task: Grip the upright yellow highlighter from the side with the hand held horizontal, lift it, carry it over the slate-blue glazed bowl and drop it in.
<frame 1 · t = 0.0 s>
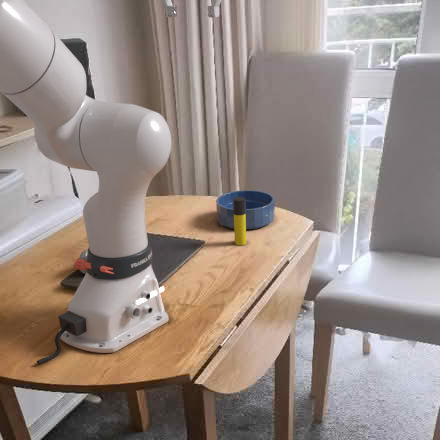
hand: (192, 17, 111), 48 cm above the table, tool pointing down, fingers open, 8 cm apart
highlighter: (240, 243, 145), on the table
bowl: (245, 220, 157), on the table
reed diffuser: (101, 259, 141), on the table
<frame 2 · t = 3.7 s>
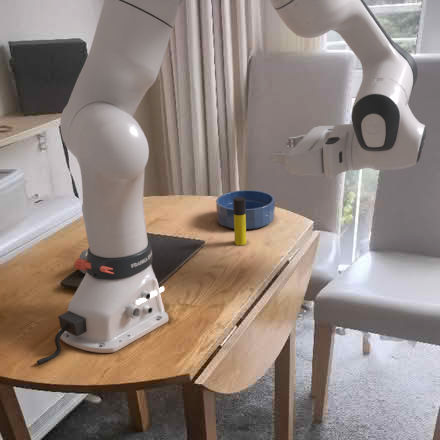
hand: (279, 149, 127), 23 cm above the table, tool horizontal, fingers open, 8 cm apart
nothing on the table moved.
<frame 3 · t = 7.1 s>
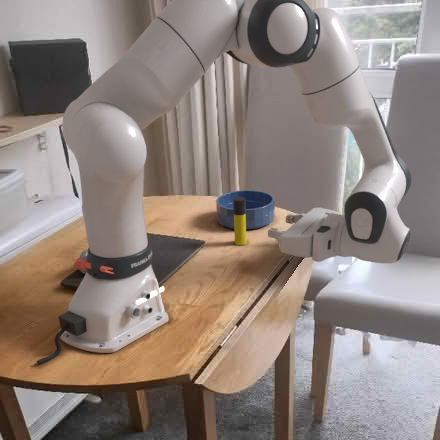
hand: (278, 225, 137), 6 cm above the table, tool horizontal, fingers open, 8 cm apart
nothing on the table moved.
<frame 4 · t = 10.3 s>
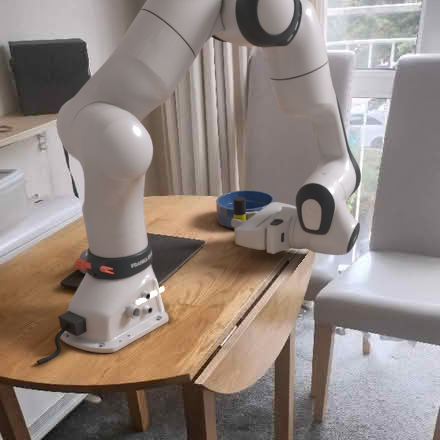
hand: (236, 218, 141), 6 cm above the table, tool horizontal, fingers closed on highlighter, 3 cm apart
highlighter: (240, 243, 145), on the table, touching gripper
everything else where it was.
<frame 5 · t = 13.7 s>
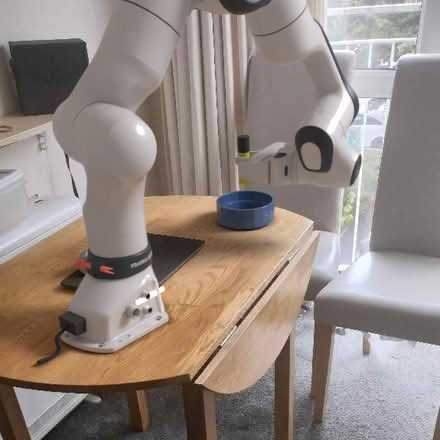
hand: (240, 157, 143), 17 cm above the table, tool horizontal, fingers closed on highlighter, 3 cm apart
highlighter: (244, 182, 147), point 11 cm above the table, touching gripper
everything else where it was.
when the fingers open (8 cm above the table, at t = 17.3 s): highlighter stays where it is, resting on bowl.
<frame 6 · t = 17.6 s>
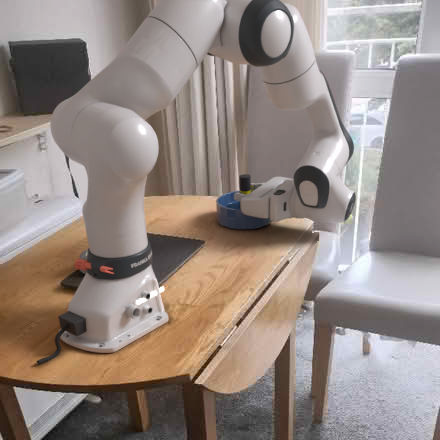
hand: (242, 191, 153), 8 cm above the table, tool horizontal, fingers open, 6 cm apart
highlighter: (245, 218, 156), point 1 cm above the table, touching bowl
everything else where it was.
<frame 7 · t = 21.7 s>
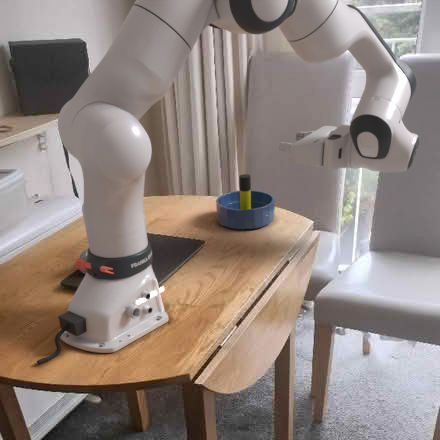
hand: (288, 140, 139), 21 cm above the table, tool horizontal, fingers open, 8 cm apart
nothing on the table moved.
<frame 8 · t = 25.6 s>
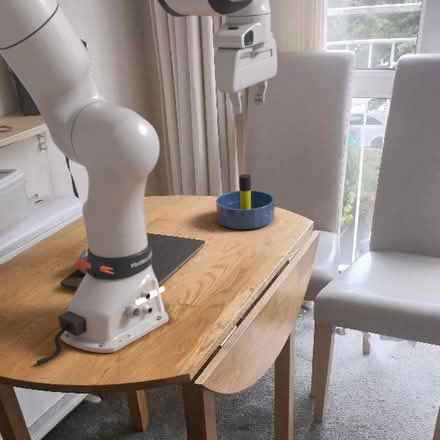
hand: (249, 108, 123), 31 cm above the table, tool pointing down, fingers open, 8 cm apart
nothing on the table moved.
at the end: highlighter inside the target area in the bowl (0.0 cm from its centre), point 0.6 cm above the bowl's base; the gripper is holding nothing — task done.
